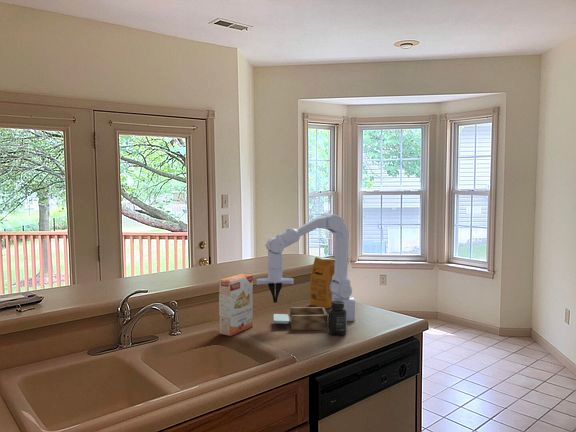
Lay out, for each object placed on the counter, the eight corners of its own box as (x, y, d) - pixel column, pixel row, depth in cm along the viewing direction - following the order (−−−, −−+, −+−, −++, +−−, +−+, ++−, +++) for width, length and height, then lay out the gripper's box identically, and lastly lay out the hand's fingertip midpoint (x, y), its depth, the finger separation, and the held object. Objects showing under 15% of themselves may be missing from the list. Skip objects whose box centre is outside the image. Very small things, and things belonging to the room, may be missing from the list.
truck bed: (324, 320, 197) (324, 307, 197) (327, 329, 185) (327, 315, 185) (290, 320, 197) (290, 307, 196) (291, 329, 185) (291, 315, 184)
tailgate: (289, 314, 195) (273, 313, 195) (290, 321, 186) (273, 320, 186) (289, 316, 195) (273, 316, 195) (290, 323, 186) (273, 322, 186)
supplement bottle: (348, 332, 182) (349, 301, 181) (343, 337, 176) (343, 305, 175) (331, 329, 185) (331, 299, 184) (325, 335, 178) (325, 303, 177)
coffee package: (320, 301, 228) (320, 255, 226) (340, 306, 219) (340, 258, 217) (305, 304, 221) (305, 257, 219) (326, 310, 212) (326, 261, 210)
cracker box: (231, 337, 176) (230, 281, 175) (218, 334, 180) (217, 279, 178) (253, 327, 188) (253, 274, 187) (241, 324, 192) (241, 272, 190)
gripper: (256, 270, 185) (256, 304, 186) (293, 269, 185) (294, 304, 186) (256, 266, 192) (257, 300, 193) (293, 266, 192) (293, 299, 193)
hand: (275, 302), depth 190 cm, fingers closed
